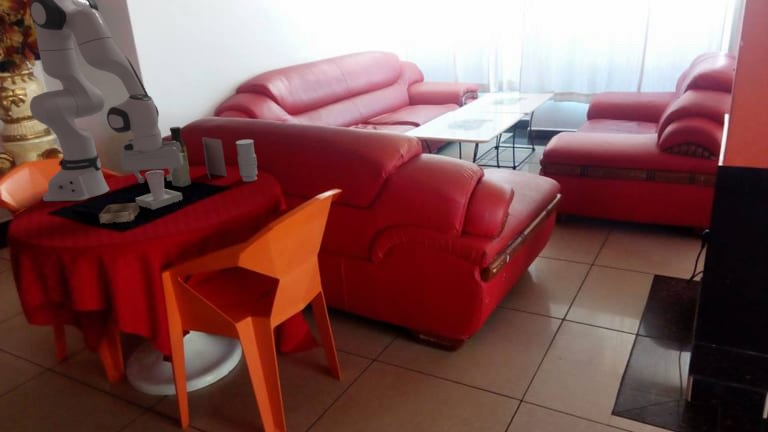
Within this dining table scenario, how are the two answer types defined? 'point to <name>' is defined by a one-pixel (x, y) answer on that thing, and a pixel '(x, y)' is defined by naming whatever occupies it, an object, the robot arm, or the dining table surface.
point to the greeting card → (214, 156)
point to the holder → (119, 213)
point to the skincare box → (181, 174)
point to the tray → (152, 204)
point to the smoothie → (156, 183)
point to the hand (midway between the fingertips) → (155, 181)
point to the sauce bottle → (178, 139)
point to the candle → (247, 160)
